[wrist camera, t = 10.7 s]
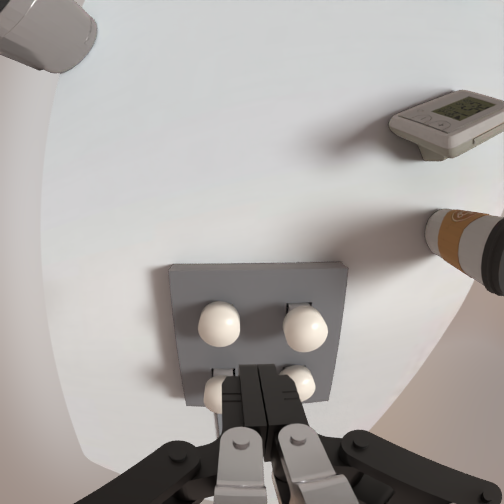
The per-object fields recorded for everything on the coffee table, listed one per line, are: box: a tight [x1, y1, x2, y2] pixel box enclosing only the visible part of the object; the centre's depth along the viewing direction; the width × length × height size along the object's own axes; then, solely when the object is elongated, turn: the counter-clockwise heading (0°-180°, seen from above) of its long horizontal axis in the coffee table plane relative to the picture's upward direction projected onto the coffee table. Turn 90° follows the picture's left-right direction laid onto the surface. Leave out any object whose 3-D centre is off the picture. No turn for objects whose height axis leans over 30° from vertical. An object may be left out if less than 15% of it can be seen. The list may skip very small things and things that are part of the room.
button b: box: [204, 368, 233, 414], centre depth 34 cm, size 4×4×5 cm
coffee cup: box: [425, 209, 504, 296], centre depth 28 cm, size 8×8×15 cm
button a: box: [198, 301, 240, 347], centre depth 33 cm, size 4×4×5 cm
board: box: [169, 262, 348, 407], centre depth 36 cm, size 20×20×2 cm
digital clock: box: [388, 90, 504, 161], centre depth 26 cm, size 16×9×11 cm, turn 106°
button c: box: [283, 302, 328, 352], centre depth 32 cm, size 4×4×5 cm
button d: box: [279, 365, 315, 402], centre depth 36 cm, size 4×4×5 cm
